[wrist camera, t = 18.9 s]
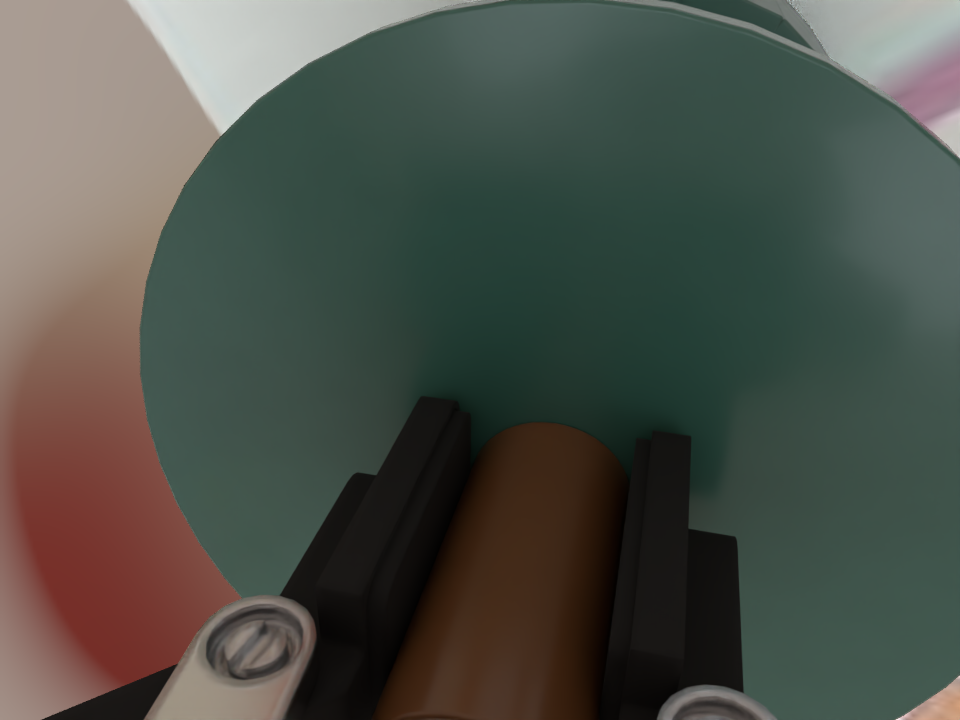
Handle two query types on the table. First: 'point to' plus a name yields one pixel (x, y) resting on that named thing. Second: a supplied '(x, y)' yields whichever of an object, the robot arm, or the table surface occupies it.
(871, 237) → the lid
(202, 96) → the table surface
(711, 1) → the tin
